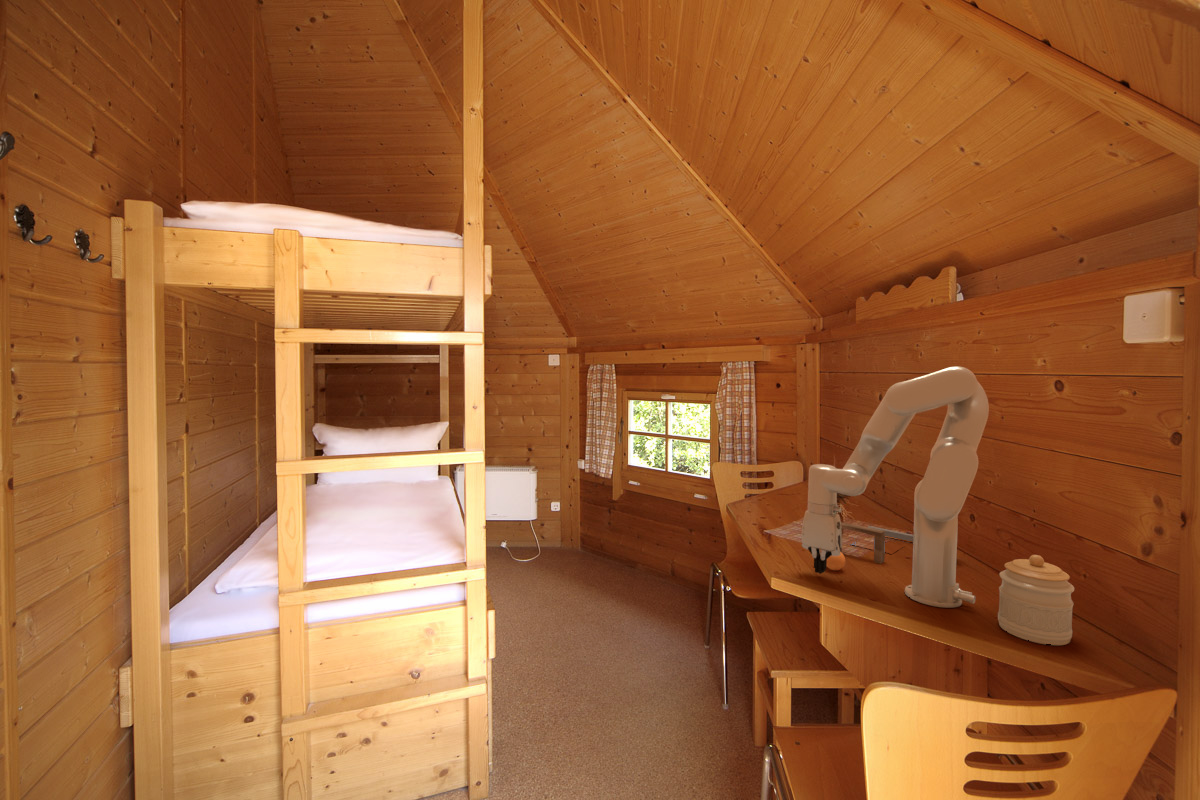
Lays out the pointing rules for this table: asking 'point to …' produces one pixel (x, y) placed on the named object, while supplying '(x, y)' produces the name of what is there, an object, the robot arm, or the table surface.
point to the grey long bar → (895, 534)
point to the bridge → (878, 540)
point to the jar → (1036, 601)
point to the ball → (836, 562)
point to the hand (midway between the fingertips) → (820, 571)
